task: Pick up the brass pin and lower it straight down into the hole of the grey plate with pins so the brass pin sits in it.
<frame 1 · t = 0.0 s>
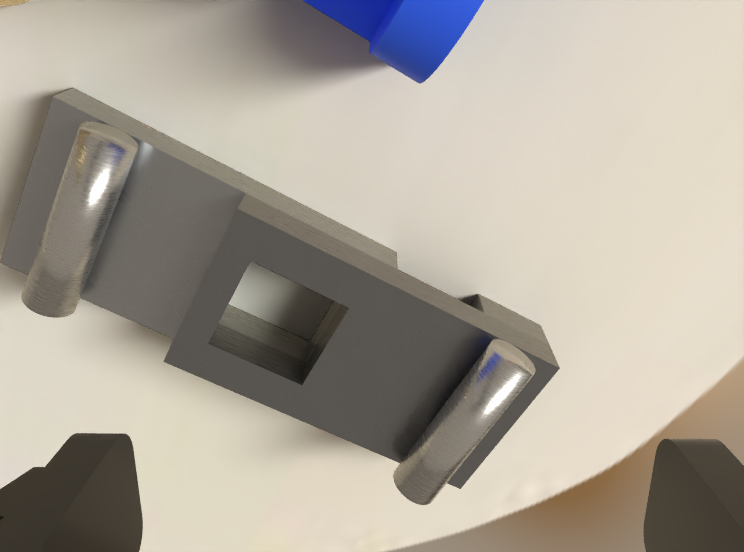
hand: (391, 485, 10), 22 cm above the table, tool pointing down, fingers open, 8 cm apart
grey plate with pins: (288, 286, 33), on the table
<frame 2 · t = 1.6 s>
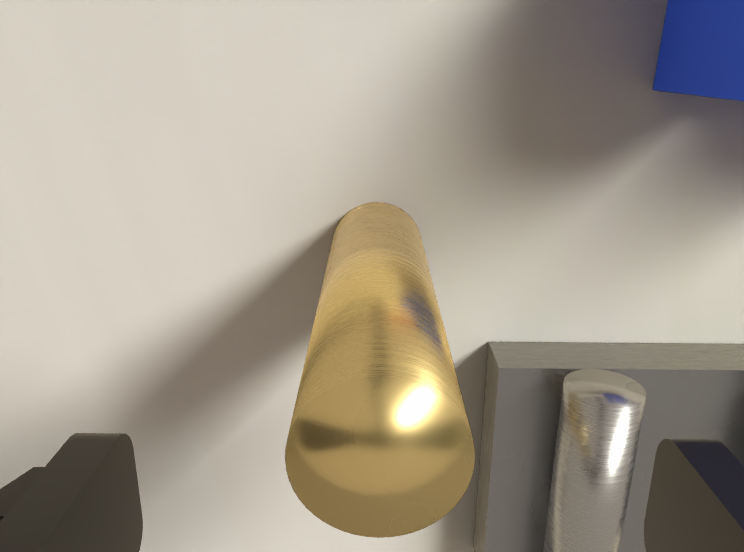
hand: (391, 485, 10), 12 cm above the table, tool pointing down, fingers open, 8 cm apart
pin: (376, 246, 21), on the table
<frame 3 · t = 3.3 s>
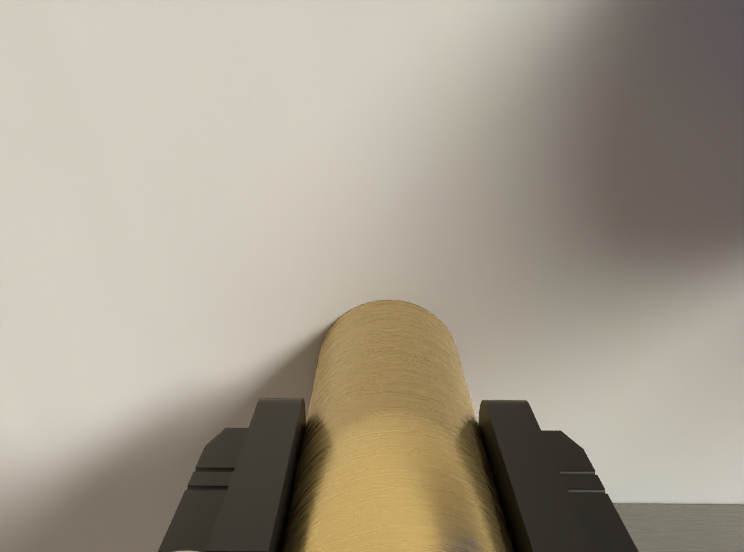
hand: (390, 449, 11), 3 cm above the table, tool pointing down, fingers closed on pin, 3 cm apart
pin: (388, 365, 14), on the table, touching gripper
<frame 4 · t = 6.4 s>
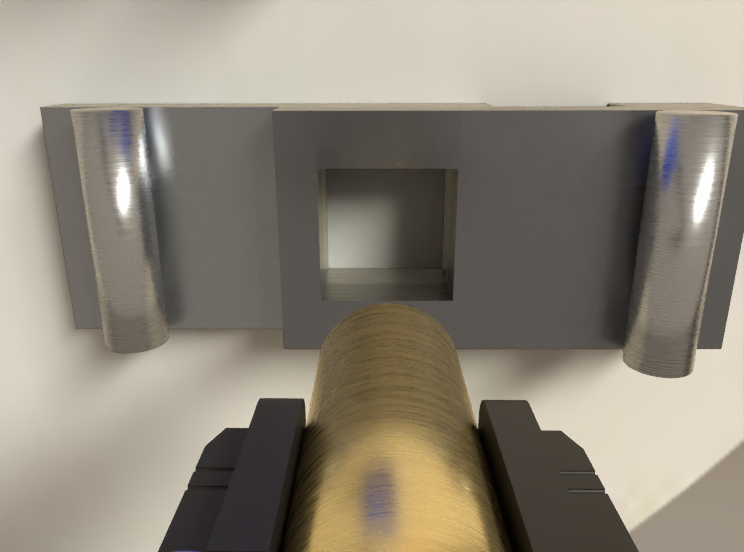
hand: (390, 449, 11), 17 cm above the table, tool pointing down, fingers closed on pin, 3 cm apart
pin: (388, 368, 14), point 14 cm above the table, touching gripper
grey plate with pins: (385, 212, 27), on the table
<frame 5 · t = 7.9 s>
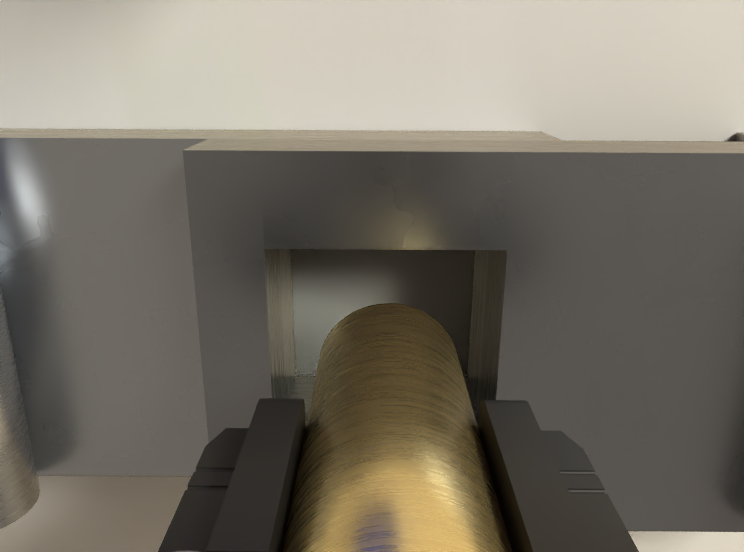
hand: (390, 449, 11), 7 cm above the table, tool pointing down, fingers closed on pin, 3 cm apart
pin: (388, 368, 14), point 4 cm above the table, touching gripper
grey plate with pins: (382, 296, 18), on the table
when the fingers open (5 cm above the table, at t = 9.3 s): pin drops 2 cm, resting in grey plate with pins.
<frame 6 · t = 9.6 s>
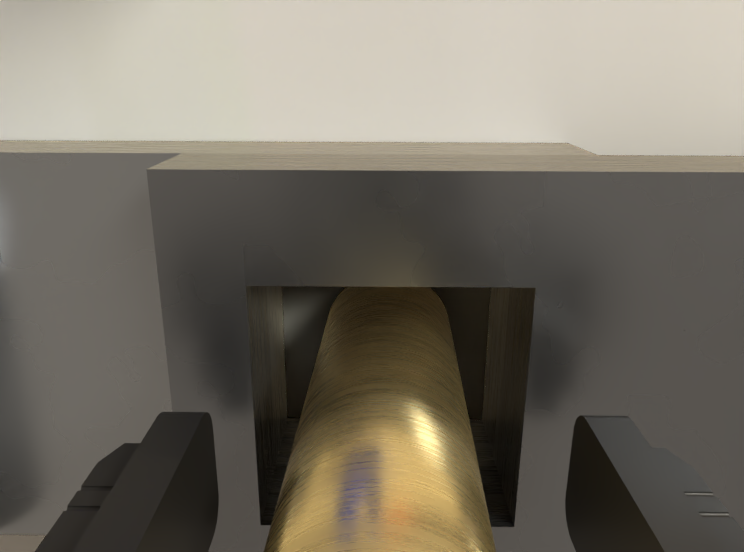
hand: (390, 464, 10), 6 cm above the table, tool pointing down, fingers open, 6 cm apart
pin: (388, 330, 15), resting in grey plate with pins
grey plate with pins: (385, 329, 16), on the table
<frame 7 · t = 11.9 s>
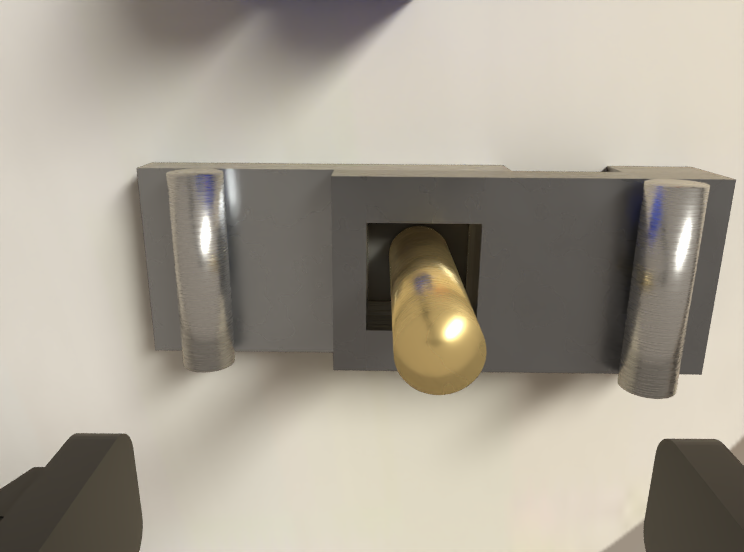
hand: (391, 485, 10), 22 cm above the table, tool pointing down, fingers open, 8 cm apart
pin: (418, 254, 32), resting in grey plate with pins
grey plate with pins: (417, 254, 32), on the table
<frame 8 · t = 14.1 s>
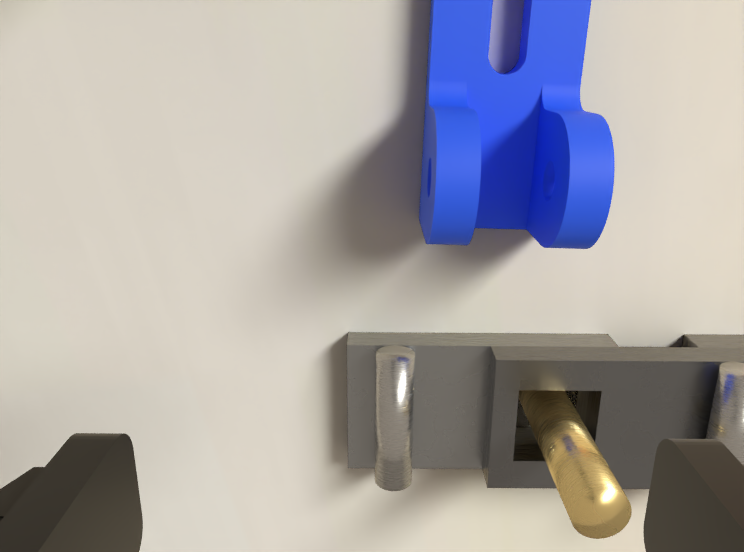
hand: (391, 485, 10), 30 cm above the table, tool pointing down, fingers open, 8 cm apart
pin: (541, 394, 43), resting in grey plate with pins
bracket: (498, 67, 37), on the table
grey plate with pins: (540, 394, 43), on the table
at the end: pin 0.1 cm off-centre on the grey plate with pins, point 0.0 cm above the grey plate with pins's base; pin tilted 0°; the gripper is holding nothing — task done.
